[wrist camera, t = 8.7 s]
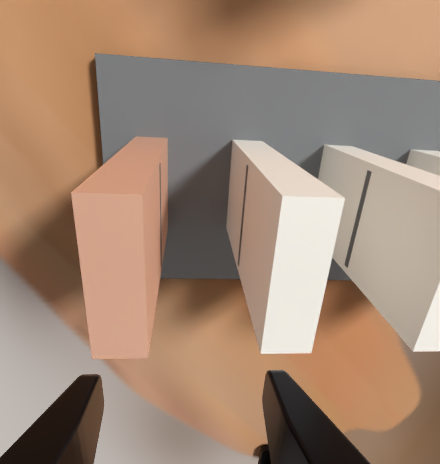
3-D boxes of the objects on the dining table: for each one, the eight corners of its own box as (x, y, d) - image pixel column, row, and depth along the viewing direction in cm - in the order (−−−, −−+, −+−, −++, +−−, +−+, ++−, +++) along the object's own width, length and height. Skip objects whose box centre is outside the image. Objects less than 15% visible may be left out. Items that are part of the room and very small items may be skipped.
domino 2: (253, 228, 19) (312, 352, 10) (225, 227, 19) (260, 354, 10) (262, 141, 17) (346, 198, 8) (232, 139, 17) (281, 196, 8)
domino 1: (168, 227, 19) (149, 358, 10) (139, 226, 19) (91, 359, 9) (167, 138, 17) (142, 194, 8) (135, 136, 17) (70, 192, 7)
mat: (492, 277, 23) (499, 281, 22) (113, 272, 20) (111, 277, 20) (576, 92, 18) (588, 92, 18) (98, 54, 16) (94, 53, 15)
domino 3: (334, 230, 20) (459, 350, 11) (307, 229, 20) (412, 351, 10) (352, 146, 18) (525, 205, 9) (323, 144, 18) (469, 202, 8)
